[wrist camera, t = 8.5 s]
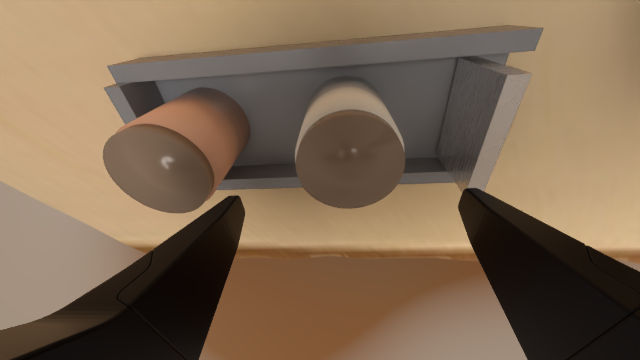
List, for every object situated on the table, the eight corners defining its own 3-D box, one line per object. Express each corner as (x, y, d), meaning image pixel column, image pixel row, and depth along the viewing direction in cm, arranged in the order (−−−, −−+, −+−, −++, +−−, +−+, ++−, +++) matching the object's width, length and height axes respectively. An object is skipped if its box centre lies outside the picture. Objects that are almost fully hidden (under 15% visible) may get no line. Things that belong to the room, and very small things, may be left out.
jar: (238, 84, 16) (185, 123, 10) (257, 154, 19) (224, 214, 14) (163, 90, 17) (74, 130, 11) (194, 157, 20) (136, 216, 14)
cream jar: (386, 72, 15) (417, 108, 9) (380, 148, 18) (401, 209, 13) (302, 78, 16) (283, 116, 10) (311, 151, 19) (300, 211, 13)
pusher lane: (507, 25, 14) (559, 29, 11) (464, 160, 20) (490, 190, 16) (140, 58, 16) (92, 69, 13) (194, 171, 22) (169, 199, 19)
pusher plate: (476, 56, 14) (532, 73, 10) (449, 154, 18) (482, 195, 14) (458, 57, 14) (507, 75, 10) (435, 155, 18) (464, 196, 14)
